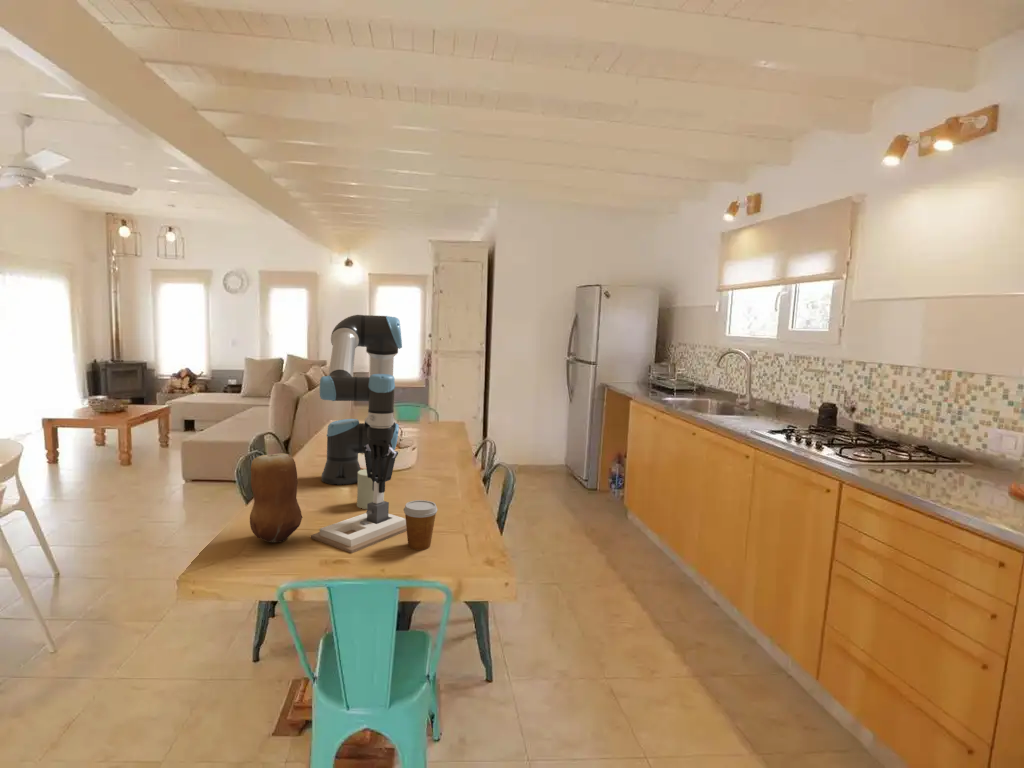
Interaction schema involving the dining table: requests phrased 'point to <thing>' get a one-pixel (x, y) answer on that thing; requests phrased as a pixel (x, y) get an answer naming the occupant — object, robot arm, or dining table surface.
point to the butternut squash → (274, 497)
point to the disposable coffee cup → (420, 523)
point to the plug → (377, 512)
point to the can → (364, 490)
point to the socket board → (360, 532)
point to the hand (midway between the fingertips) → (378, 502)
